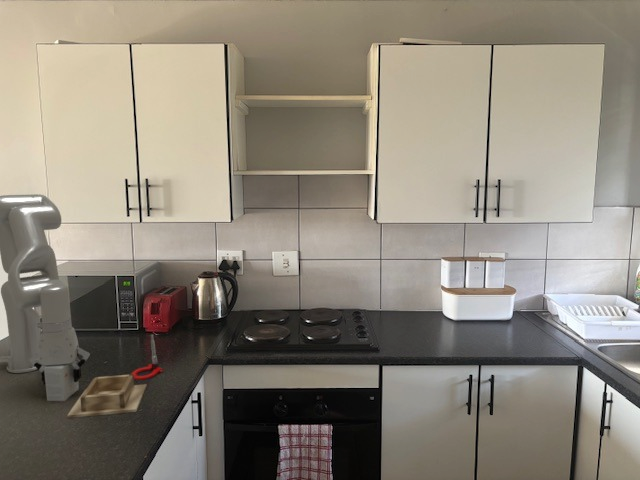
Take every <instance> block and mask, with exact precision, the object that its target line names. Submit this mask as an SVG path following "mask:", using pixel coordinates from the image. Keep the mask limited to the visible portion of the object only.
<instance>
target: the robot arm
mask: <svg viewBox="0 0 640 480" xmlns="http://www.w3.org/2000/svg"><path fill="white" fill-rule="evenodd" d="M61 225H62V214H61V212H60V209H59V208H58V207H57V205H55V203H54V202H53V201H52V200H51V199H49V198H48V197H47V196H46V195H44V194H8V195H7V194H6V195H0V260H1V265H2V269H3V271H4V272H5V273H6V274H7V280H6V281H5V282H4V283H2V285H1V287H0V295H1V299H2V301H3V305H4V309H5V310H4V311H5V313H6V314H5V315H6V322H7V323H6V324H7V331H8V333H7V334H8V342H9V349H10V354H9V355H0V364H7V365H6V371H7V372H9V373H12V374H23V373H24V374H25V373H29V372H33V371H39V372H40V374H41V381H42V382H43V385H44V386H46V383H45V373H44V368H45V367H46V366H48V365H62V364H72V365H73V367H74V368H75V369H74V370H73V375H74V382H77V381H78V382H79V380H80V379H81V378H82V369H81V368H82V367H83V365H84V364H85V363H86V362H87V360H88V359H89V357H90V355H91V353H90V352H89V351H87V350H85V349H83V348H82V347H80V345H79V341H78V336H77V333H76V330H75V328H74V327H73V326H72V315H71V314H72V313H71V303H70V302H71V301H70V291H69V287H68V286H67V285H66V284H65V283H64V282H63V281H62V280H60V278H59V271H58V264H57V258H56V254H55V251H54V249H53V248H52V246H50V245H49V243H48V240H47V236H46V233H45V231H49V230H56V229H59V228H60V227H61ZM36 272H40V273H41V274H39V275H32V276H31V275H30V276H29V275H28V276H24V277H20V275H21V274H28V273H36ZM38 307H40V313H41V318H40V314H39V313H38V312H37V310H36V309H34V308H38ZM80 356H82V358H81V359H79V357H80Z"/></svg>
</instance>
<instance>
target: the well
mask: <svg viewBox="0 0 640 480" xmlns="http://www.w3.org/2000/svg"><path fill="white" fill-rule="evenodd" d="M146 389H147V384H146V383H145V384H143V383H142V384H135V379H134V374H131V373H130V374H121V375H108V376H107V375H105V376H95V377H93V379H92V380H91V382H90V383H89V385H88V386H87V388H86V389H85V390H84V391H83V392H82V394H81V395H80V396H79V398H78V399H77V401H76V402H75V403H74V405H73V406H72V408H71V409H70V411H69V412H68V414H67V415H66V417H67V419H74V418H75V419H76V418H84V417H95V416H104V415H107V416H108V415H117V414H127V413H128V414H129V413H136V412H137V411H138V408H139V406H140V403H141V401H142V399H143V397H144V393H145V392H146Z"/></svg>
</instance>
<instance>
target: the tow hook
mask: <svg viewBox="0 0 640 480" xmlns="http://www.w3.org/2000/svg"><path fill="white" fill-rule="evenodd" d="M150 346H151V362H152V363H150V364H148V365H147V366H143V367H139V368H137V369H134V370H133V371H132V372H131V373H130V374H134V381H135V380H136V381H142V380H143V381H144V380H148V379H151V378H153V377H155V376H156V375H157V374H159V373H163V371H164V369H163V368H162V367H160V364H159V362H158V355H157V354H156V353H157V351H156V345H155V340H154V334H150ZM145 371H152V372H151V373H149V374H146V375H138V374H139V373H141V372H145Z"/></svg>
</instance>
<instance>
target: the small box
mask: <svg viewBox="0 0 640 480" xmlns="http://www.w3.org/2000/svg"><path fill="white" fill-rule="evenodd" d="M74 369H75V368H74V367H73V365H72V364H62V365H48V366H46V367H45V368H44V373H45V383H46V385H45V391H46V401H47V402H66V401H67V400H68V399H69V398H70V397H72V396H73V395H74V394H75V393H77V391H78V390H79V389H80V388H79V387H80V385H79V380H78V381H77V382H74V375H73V370H74Z"/></svg>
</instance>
